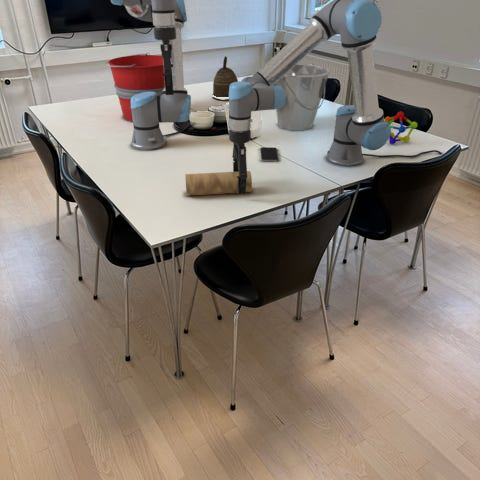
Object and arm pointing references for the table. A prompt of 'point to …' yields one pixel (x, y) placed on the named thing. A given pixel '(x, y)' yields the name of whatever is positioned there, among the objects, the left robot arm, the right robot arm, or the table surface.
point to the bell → (223, 80)
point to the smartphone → (269, 154)
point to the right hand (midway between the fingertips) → (239, 185)
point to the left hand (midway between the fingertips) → (169, 90)
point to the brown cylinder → (215, 183)
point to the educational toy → (400, 128)
